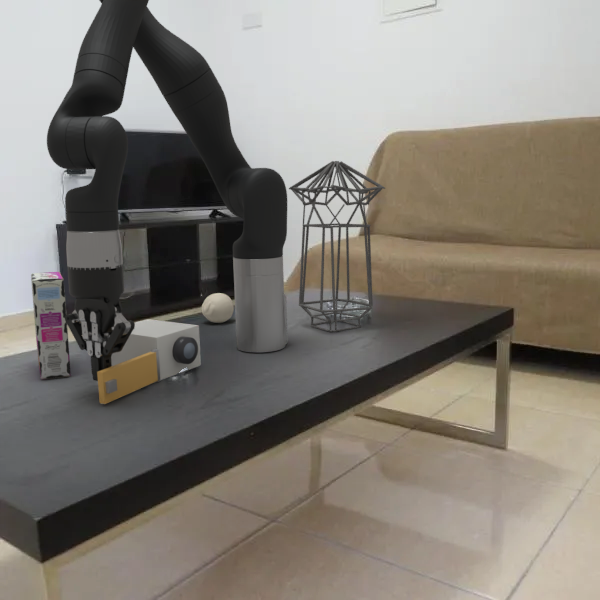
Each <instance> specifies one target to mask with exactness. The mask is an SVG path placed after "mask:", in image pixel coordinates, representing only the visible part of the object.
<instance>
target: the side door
mask: <svg viewBox="0 0 600 600" xmlns="http://www.w3.org/2000/svg"><path fill="white" fill-rule="evenodd" d="M97 377H98V381H97V388H98V398H99V400H98V401H99V404H102V405H103V404H104V405H107V404H108V403H111V402H113V401H115V400H117V399H119V398H122V397H124V396H127V395H129V394H131V393H133V392H136V391H138V390H141V388H144V387H147V386H149V385H151V384H153V383H158V382H161V381H162V380H160V364H159V350H158V349H153V350H151V352H149V353H146V354H143V355H141V356H138V357H135V358H133V359H130V360H127V361H125V362H122V363H119V364H117V365H114V366H111V367H109V368H106V369H103V370H101V371H98V372H97Z"/></svg>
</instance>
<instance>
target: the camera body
mask: <svg viewBox="0 0 600 600" xmlns="http://www.w3.org/2000/svg"><path fill="white" fill-rule="evenodd" d="M134 323H135V327H134V329H133V331H132V333H131V334H130V336H129V338H128V340H127V342H126V343H125V345H124V347H123V349H122V350H121V351H120V352H116V353H113V354H112V356H111V362H112V366H114V365H117V364H119V363H122V362H125V361H127V360H130V359H133V358H135V357H138V356H141V355H143V354H146V353H149V352H151V350H153V349H158V350H159V364H160V380H161V381H162V380H165V379H167V378H170V377H173V376H175V375H178V374H177V373H179V372H180V371H181V370H182V369H184V368H186V367H187V368H188V369H189V370H193V369H195V368H198V367H201V365H202V363H201V362H202V361H201V343H200V341H201V340H200V325H197V324H189V323H184V322H183V323H181V322H174V321H166V320H165V321H164V320H156V319H150V318H147V319H143V320H140V321H135V322H134ZM105 342H106V341H105ZM179 374H180V373H179Z"/></svg>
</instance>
